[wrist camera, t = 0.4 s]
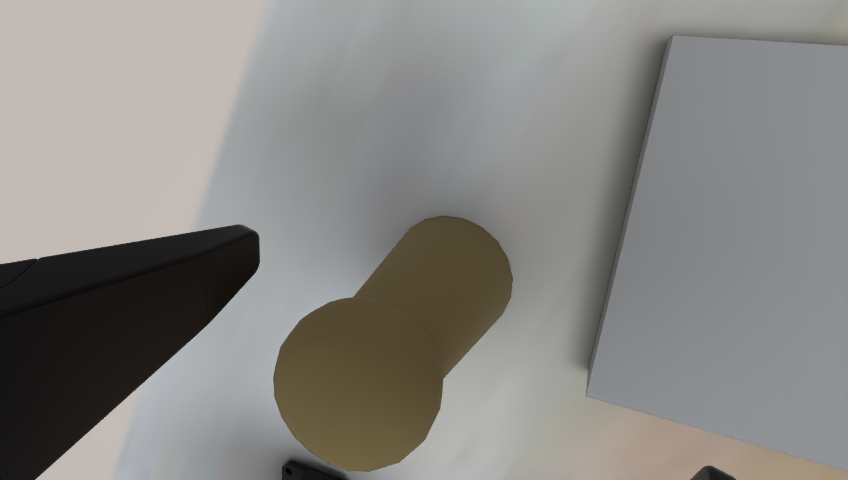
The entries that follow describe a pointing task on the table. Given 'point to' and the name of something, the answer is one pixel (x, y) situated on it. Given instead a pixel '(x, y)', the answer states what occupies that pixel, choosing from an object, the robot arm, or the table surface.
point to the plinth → (737, 250)
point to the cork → (391, 346)
